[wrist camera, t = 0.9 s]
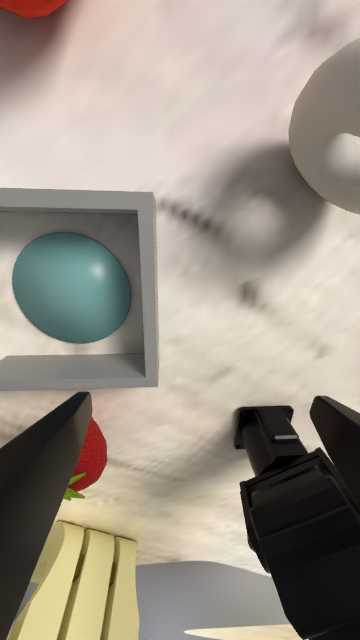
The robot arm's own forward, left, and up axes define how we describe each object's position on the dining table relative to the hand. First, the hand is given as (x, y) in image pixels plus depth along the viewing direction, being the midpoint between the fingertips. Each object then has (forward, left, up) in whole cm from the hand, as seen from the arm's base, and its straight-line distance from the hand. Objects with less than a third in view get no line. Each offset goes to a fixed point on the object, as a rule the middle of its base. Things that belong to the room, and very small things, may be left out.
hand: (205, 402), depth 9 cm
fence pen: (+1, +10, -13) cm, 16 cm away
